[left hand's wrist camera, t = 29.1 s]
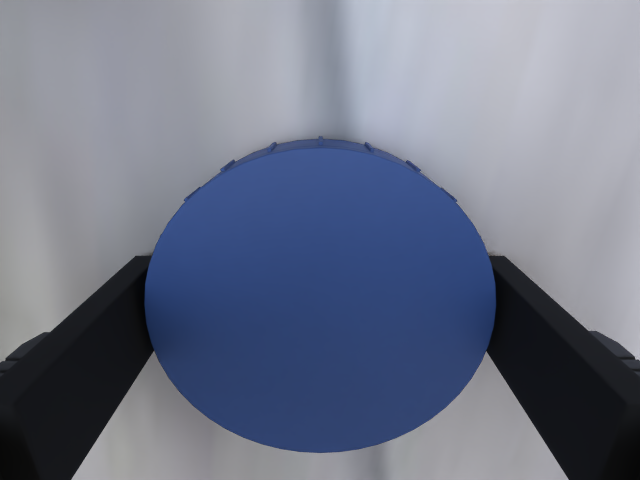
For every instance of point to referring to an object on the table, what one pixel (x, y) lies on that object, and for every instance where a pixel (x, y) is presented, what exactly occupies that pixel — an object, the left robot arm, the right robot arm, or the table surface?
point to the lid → (320, 297)
